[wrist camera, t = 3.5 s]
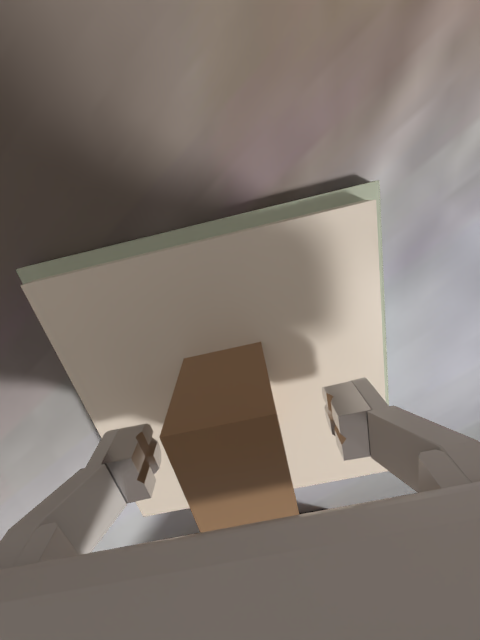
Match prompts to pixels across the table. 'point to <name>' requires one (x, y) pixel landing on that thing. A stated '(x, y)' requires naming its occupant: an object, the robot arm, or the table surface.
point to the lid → (228, 356)
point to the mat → (218, 228)
